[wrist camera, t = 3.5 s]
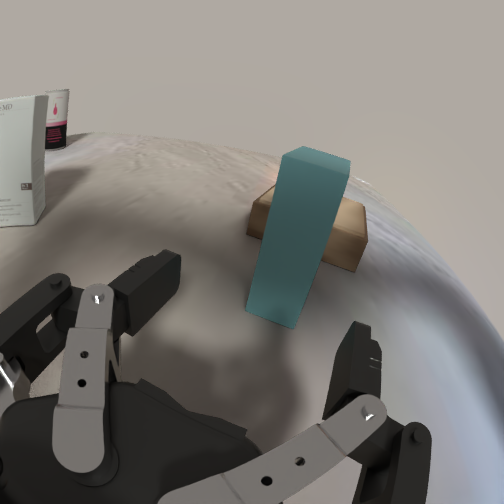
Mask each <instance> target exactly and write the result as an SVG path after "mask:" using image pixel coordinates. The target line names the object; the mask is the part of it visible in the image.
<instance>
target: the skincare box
mask: <svg viewBox="0 0 504 504" xmlns="http://www.w3.org/2000/svg"><path fill="white" fill-rule="evenodd" d="M48 100H49V96H48V95H37V96H36V95H35V96H23V97H15V98H7V99H1V100H0V227H7V226H18V225H35V224H36V222H37V221H38V219H39V217H40V215H41V214H42V212H43V210H44V209H45V207H46V201H45V175H44V158H45V132H46V119H47V109H48Z"/></svg>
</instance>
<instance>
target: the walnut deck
mask: <svg viewBox="0 0 504 504" xmlns="http://www.w3.org/2000/svg"><path fill="white" fill-rule="evenodd" d="M275 186H276V184H275V185H274V186H273V187H271V188H270V189H269V190H268V191H266V192H265V193H264V194H263V195H261V196H260V197H259V198H257V199H256V200H255V201H254V202H253V205H252V210H251V215H250V219H249V224H248V229H247V234H248V235H251V236H254V237H256V238H259V239H262V240H263V235H264V231H265V227H266V223H267V219H268V215H269V211H270V206H271V202H272V198H273V194H274V190H275ZM367 242H368V235H367V222H366V212H365V207H364V206H363V204H361V203H359V202H356V201H353V200H350V199H347V198H345V197H342V200H341V203H340V206H339V209H338V212H337V215H336V218H335V221H334V224H333V227H332V230H331V233H330V236H329V239H328V242H327V244H326V247H325V250H324V253H323V255H322V258H321V260H322V261H324V262H327V263H330V264H333V265H336V266H338V267H341V268H344V269H347V270H349V271H352V272H355V271H356V268H357V266H358V264H359V261H360V259H361V257H362V254H363V252H364V250H365V247H366V245H367Z"/></svg>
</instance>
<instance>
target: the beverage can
mask: <svg viewBox="0 0 504 504" xmlns="http://www.w3.org/2000/svg"><path fill="white" fill-rule="evenodd" d="M45 95H48V96H49V100H48V109H47V119H46V132H45V151H55V150H60V149H63V148H64V147H65V146H66V130H67V112H68V101H69V89H64V90H63V89H62V90H53V91H46V94H45Z"/></svg>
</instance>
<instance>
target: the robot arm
mask: <svg viewBox="0 0 504 504" xmlns="http://www.w3.org/2000/svg"><path fill="white" fill-rule="evenodd" d="M180 270H181V256H180V255H179V254H176V253H174V252H171V251H169V250H166V249H165V250H163V251H162V252H160V253H159V254H158V255H156V256H153V255H152V256H149V257H146V258H143V259H141V260H140V261H139V262H137V263H136V264H135V265H133V266H132V267H130V268H129V270H126V271H125V272H124V273H122V274H121V275H120V276H118V277H117V278H116V279H114V280H113V281H112V282H111V283H109V284H108V285H105V284H94V285H91V286H89V287H87V288H86V289H81V288H77V287H73V286H71V282H70V278H69V277H68V276H67V275H65V274H61V273H56V274H52V275H50V276H48V277H47V278H45V279H44V280H43V281H41V282H40V283H39V284H37V285H36V286H35V287H33V288H32V289H31V290H29V291H28V292H27V293H26V294H24V295H23V296H22V297H21V298H19V299H18V300H17V301H16V302H14V303H13V304H12V305H11V306H10V307H8V308H7V309H6V310H5V311H4V312H2V313H1V314H0V504H283V502H282V501H284V500H285V499H287V498H289V497H290V496H292V495H293V494H295V493H297V492H298V491H300V490H301V489H303V488H304V487H306V486H307V485H309V484H310V483H312V482H313V481H315V480H316V479H317V478H319V477H320V476H322V475H323V474H324V473H326V472H327V471H329V470H330V469H331V468H333V467H334V466H335V465H336V464H338V463H339V462H340V461H342V460H343V459H344V458H345V457H346V456H348V457H350V458H352V459H353V460H355V461H357V462H358V463H360V464H362V469H361V473H360V477H359V480H358V484H357V488H356V491H355V495H354V498H353V501H352V504H425V502H426V496H427V489H428V481H429V472H430V460H431V444H432V438H431V434H430V432H429V430H428V428H427V427H426V426H424V425H423V424H421V423H419V422H411V423H409V424H407V425H406V426H403V425H402V424H400V423H398V422H396V421H395V420H393V419H391V418H390V417H389V416H388V415H387V410H386V407H385V405H384V403H383V402H382V401H381V400H380V395H381V366H382V363H381V361H382V351H381V349H380V346H379V344H378V342H377V341H375V340H372V339H371V327H370V326H368V325H365V324H362V323H359V322H357V321H354V322H353V323H352V325H351V326H350V328H349V330H348V332H347V333H346V335H345V337H344V339H343V340H342V342H341V344H340V346H339V348H338V350H337V352H336V356H335V360H334V365H333V370H332V376H331V381H330V385H329V390H328V395H327V399H326V404H325V408H324V413H323V417H322V420H325V421H324V422H322V423H321V424H315V425H313V426H311V427H310V428H308V429H307V430H305V431H303V432H302V433H300V434H298V435H297V436H295V437H293V438H292V439H290V440H288V441H287V442H285V443H283V444H281V445H280V446H278V447H276V448H274V449H272V450H270V451H269V452H267V453H265V454H263V453H262V452H261V451H260V449H259V448H258V447H257V446H256V445H255V444H254V443H253V442H252V441H251V440H249V439H248V438H246V437H245V434H246V432H247V429H245V428H242V427H240V426H237V425H235V424H232V423H230V422H227V421H225V420H223V419H220V418H216V417H212V416H207V415H202V414H198V413H194V412H190V411H188V410H186V409H185V408H184V407H182V406H181V405H180V404H179V403H178V402H176V401H175V400H174V399H173V398H172V397H171V396H170V395H168V394H167V393H166V392H165V391H163V390H161V389H160V388H158V387H156V386H154V385H152V384H151V383H149V382H147V381H145V380H144V379H142V378H141V380H140V381H139V382H138V383H137V384H134V383H129V382H122V378H121V335H122V334H123V333H124V332H125V333H127V334H129V335H131V336H132V337H133V336H134V335H135V334H136V333H137V332H138V331H139V330H140V329H141V328H142V327H143V326H144V325H145V324H146V323H147V322H148V321H149V320H150V319H151V318H152V317H153V316H154V315H155V314H156V313H157V312H158V311H159V310H160V309H161V308H162V307H163V305H164V304H165V303H166V302H167V301H168V300H169V299H170V298H171V297H172V296H173V295H174V294H175V293H176V291H177V290H178V287H179V284H180ZM50 314H51V316H52V320H51V321H50V322H48V323H47V324H46V325H45V326H44V327H43V328H42V329H41V330H40V331H39V332H38V333H37V334H36V329H37V326H38V325H39V324H40V323H41V322H42V321H43V320H44V319H45V318H46V317H47V316H49V315H50ZM64 348H65V352H64V359H63V365H62V373H61V381H60V390H59V393H57V394H52V395H46V396H40V397H34V398H30V395H29V392H30V387H31V383H32V382H33V381H34V380H35V379H36V378H37V377H38V376H39V375H40V374H41V372H42V371H43V370H44V369H45V368H46V367H47V366H48V365H49V364H50V363H51V362H52V361H53V360H54V359H55V358H56V357H57V355H58V354H59V353H60V352H61V351H62V350H63V349H64Z"/></svg>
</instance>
